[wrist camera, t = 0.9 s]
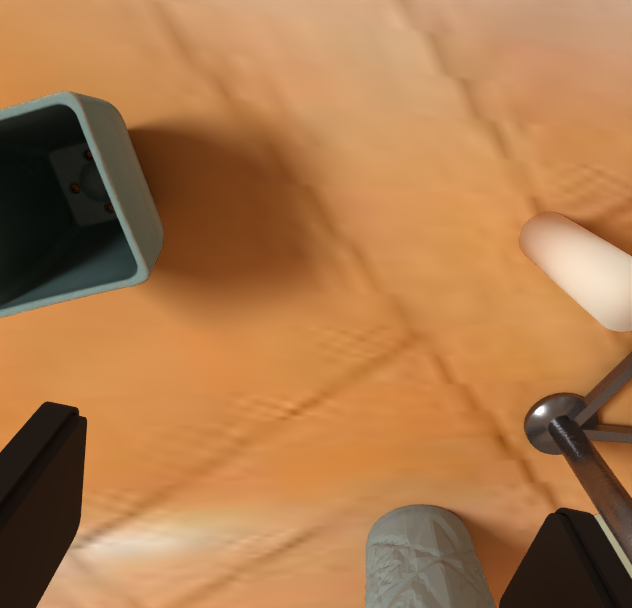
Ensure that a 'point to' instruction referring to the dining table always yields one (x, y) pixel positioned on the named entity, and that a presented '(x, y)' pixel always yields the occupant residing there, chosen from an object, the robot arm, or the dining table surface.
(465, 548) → the grey teal cup
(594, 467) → the upright post stand
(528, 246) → the dowel
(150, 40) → the dining table surface
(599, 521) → the pad
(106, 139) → the flower pot
